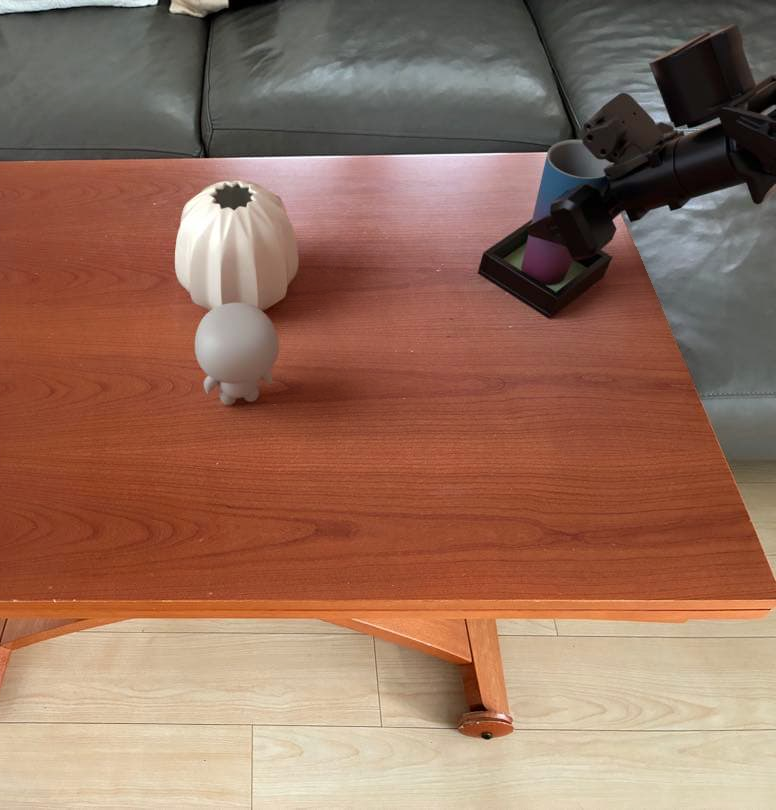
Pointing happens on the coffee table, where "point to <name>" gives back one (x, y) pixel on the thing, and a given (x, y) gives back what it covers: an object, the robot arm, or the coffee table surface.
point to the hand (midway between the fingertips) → (552, 211)
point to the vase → (235, 246)
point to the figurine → (236, 350)
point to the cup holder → (548, 300)
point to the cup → (561, 173)
